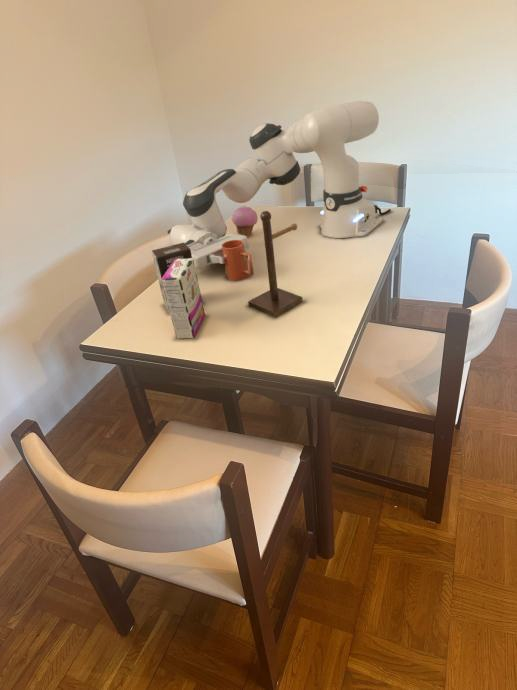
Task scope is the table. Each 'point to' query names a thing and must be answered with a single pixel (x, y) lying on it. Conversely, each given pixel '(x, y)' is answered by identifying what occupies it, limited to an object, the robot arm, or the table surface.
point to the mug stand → (273, 276)
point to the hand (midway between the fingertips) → (234, 256)
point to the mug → (236, 260)
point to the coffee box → (168, 261)
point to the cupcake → (244, 220)
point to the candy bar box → (183, 298)
